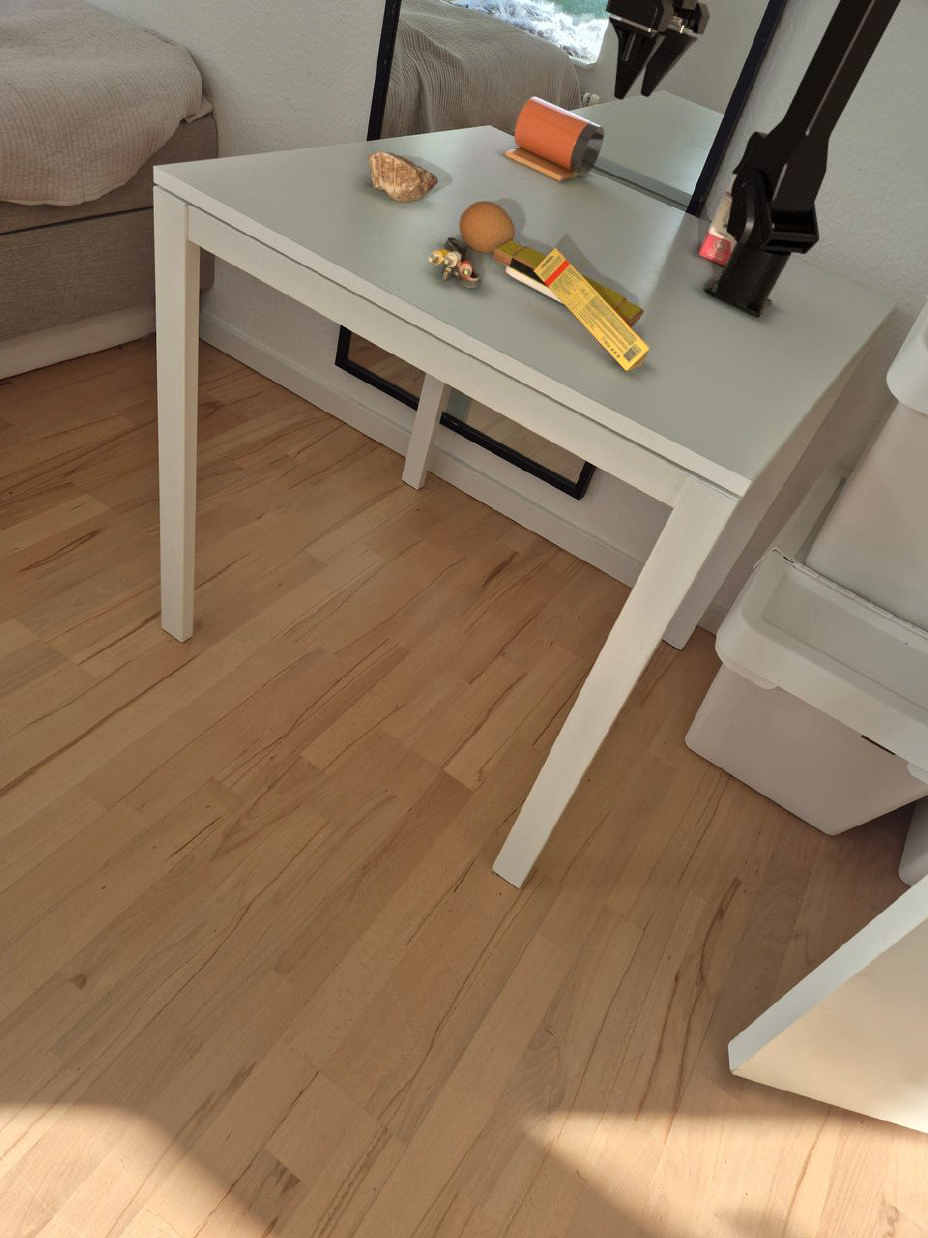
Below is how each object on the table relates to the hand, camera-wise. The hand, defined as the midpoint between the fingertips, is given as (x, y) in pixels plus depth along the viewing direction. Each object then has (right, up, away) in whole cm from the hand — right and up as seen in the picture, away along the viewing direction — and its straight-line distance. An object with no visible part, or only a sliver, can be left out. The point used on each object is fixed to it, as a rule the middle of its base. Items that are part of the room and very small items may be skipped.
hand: (631, 96), depth 97 cm
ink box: (+13, -18, +3) cm, 23 cm away
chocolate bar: (-9, -35, -28) cm, 46 cm away
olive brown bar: (-10, -30, -22) cm, 38 cm away
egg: (-20, -24, -20) cm, 37 cm away
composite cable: (-20, -30, -22) cm, 42 cm away
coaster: (-9, -1, +13) cm, 16 cm away
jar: (-8, -1, +12) cm, 15 cm away
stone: (-27, -19, -13) cm, 36 cm away
